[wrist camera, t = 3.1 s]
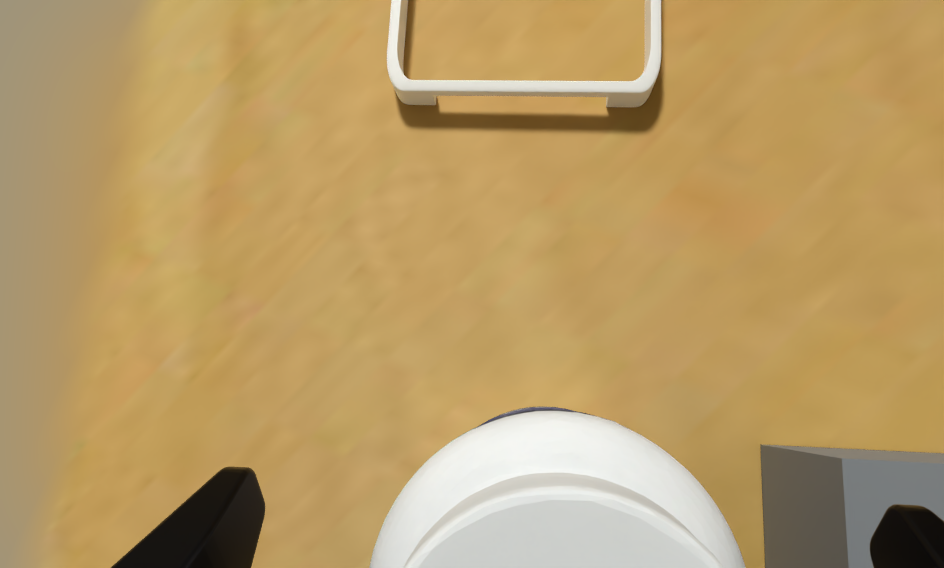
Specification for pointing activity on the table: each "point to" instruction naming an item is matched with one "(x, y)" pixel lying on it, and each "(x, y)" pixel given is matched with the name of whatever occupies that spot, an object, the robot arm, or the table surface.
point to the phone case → (612, 90)
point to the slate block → (839, 500)
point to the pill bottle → (554, 501)
